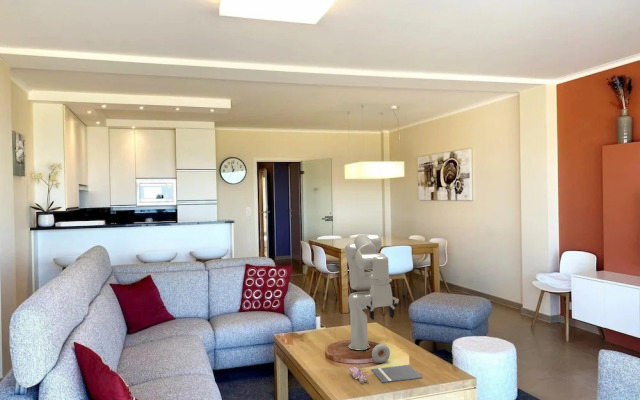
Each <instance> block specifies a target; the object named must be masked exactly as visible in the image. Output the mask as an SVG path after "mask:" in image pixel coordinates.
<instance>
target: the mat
mask: <svg viewBox="0 0 640 400" xmlns="http://www.w3.org/2000/svg"><path fill="white" fill-rule="evenodd" d="M371 372H372V373H373V374H374V375H375V376H376V378H377V379H378V380H379V381H380V382H381V384H387V383H395V382H403V381H404V382H405V381H409V380H410V381H411V380H419V379H420V378H421V379H423V376H421V374H420V373H418V372H417V371H416V370H415V369H414V368H413V367H412V366H411V365H410V364H405V365H396V366H388V367H378V368H371Z"/></svg>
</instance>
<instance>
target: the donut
mask: <svg viewBox="0 0 640 400" xmlns="http://www.w3.org/2000/svg"><path fill="white" fill-rule="evenodd" d="M381 351H382V352H383V353H382V355H379V353H380V352H381ZM390 354H391V350H390V348H389V346H388V345H387V344H385V343H379V344H376V345H375V346H374V347H373V349H372V351H371V357H372V359H373V361H374V362H375V363H378V364H383V363H385V362H386V361H388V359H389V358H390V356H391V355H390Z"/></svg>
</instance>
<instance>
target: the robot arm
mask: <svg viewBox="0 0 640 400" xmlns="http://www.w3.org/2000/svg"><path fill="white" fill-rule="evenodd" d="M382 244H383V243H382V239H381V236H380V235H379V234H376V233H370V234H369V233H368V234H366V233H365V234H359V235H357V236H356V237H355V238H354V240H353V242H350V243H347V244H346V245H345V246H344V254H345V255H344V256H345V258H346V260H347V264H348V271H349V274H348V275H349V284H350V285H349V286H350V288H351V289H352V290H357V291H356V292H352V293H350V294H348V299H347V301H348V308H349V316H350V319H349V320H350V322H349V323H350V343H349V344H348V347H349V348H351V349H356V350H361V349H367V348H368V347H367V346H369V344H370V343H369V341H368V340H369V336H368V334H369V333H368V315H367V314H366V313H365V312H364V311H363V310H368V311H369V312H368V313H369V318H370V319H371V320H372V321H374V320H375V311H374V310H375V309H377V308H380V307H381V308H382V307H389V310H388V311H389V317H390V318H391V319H393V318H394V316H395V309H396V307H397V306H398V304H399V301H400V299H399V298H397V297H394V296H393V292H392V286H391V284H390V283H391V282H393V280H392V279H391V278H390V277H389V276H390V272H389V270H390V269H389V257H388V256H386V254H385V253H383V252H382V253H379V251H380V249H381V247H382ZM366 270H372V271H366ZM358 290H368V291H358ZM393 300H394V302H393ZM348 347H347V348H348ZM349 348H348V349H349Z"/></svg>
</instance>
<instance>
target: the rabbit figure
mask: <svg viewBox="0 0 640 400" xmlns="http://www.w3.org/2000/svg"><path fill="white" fill-rule="evenodd" d="M348 369H349V372H351V373H352V377H353V378H354V379H355V380H359V384H361V385H365V384H366V383H367V384H369V380H368V379H367V378H368V376H367V375H363V372H362V369H361V368H358V367H355V366H354V367H350V368H348Z"/></svg>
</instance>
